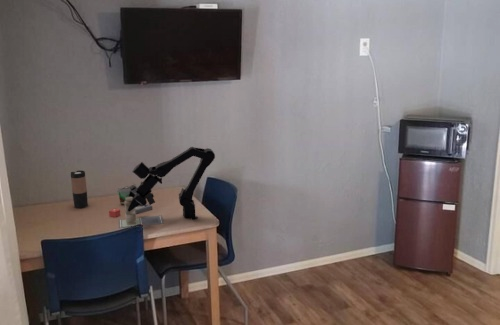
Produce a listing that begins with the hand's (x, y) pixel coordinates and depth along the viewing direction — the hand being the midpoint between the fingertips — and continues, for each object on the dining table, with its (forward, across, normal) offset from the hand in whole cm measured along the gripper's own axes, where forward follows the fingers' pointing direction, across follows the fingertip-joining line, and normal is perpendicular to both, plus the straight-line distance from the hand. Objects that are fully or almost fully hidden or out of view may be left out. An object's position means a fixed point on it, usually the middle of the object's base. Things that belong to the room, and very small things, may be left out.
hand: (127, 208), depth 236 cm
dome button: (+1, +18, -12) cm, 22 cm away
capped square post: (+5, 0, -6) cm, 8 cm away
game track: (+2, 0, -11) cm, 11 cm away
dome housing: (+1, +18, -12) cm, 22 cm away
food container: (+3, +34, -10) cm, 35 cm away
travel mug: (+22, +39, +9) cm, 45 cm away
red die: (+10, +13, -2) cm, 17 cm away
